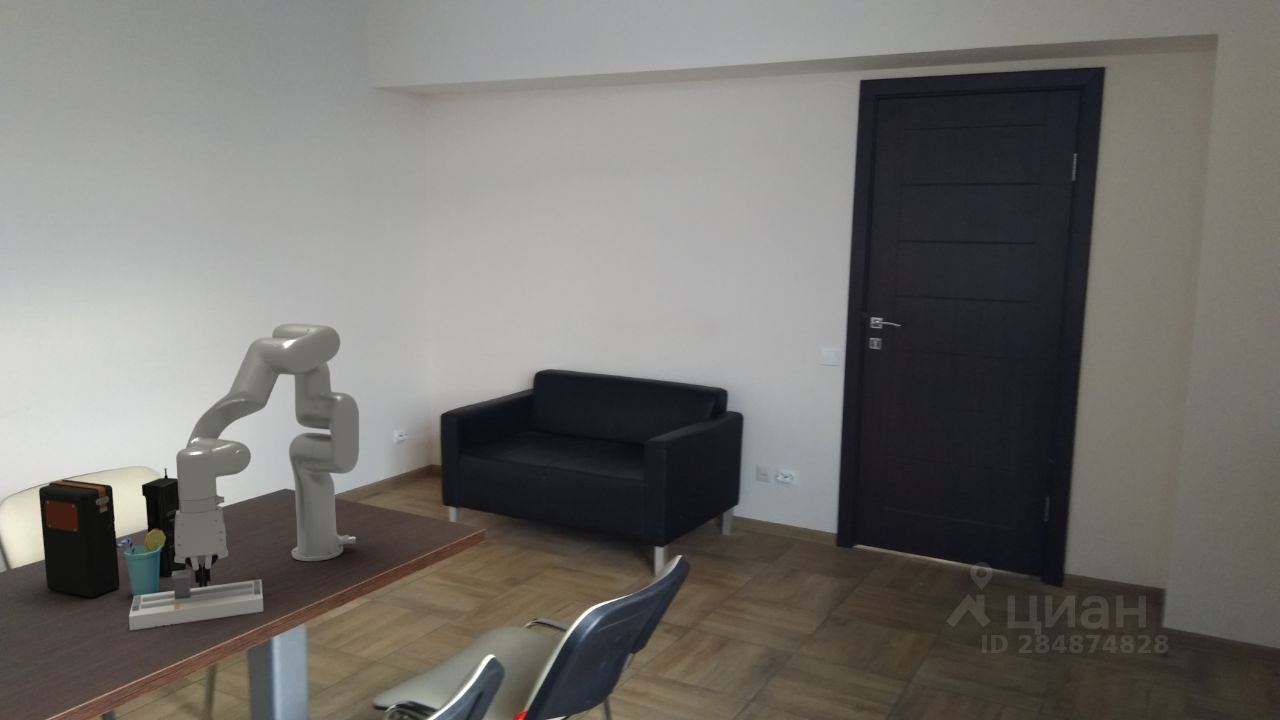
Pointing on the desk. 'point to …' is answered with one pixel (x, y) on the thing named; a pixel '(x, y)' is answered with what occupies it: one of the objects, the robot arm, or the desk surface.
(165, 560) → the portable radio
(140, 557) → the cup
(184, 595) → the fader tab
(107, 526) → the black speaker
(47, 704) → the desk surface
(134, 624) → the slider track base
